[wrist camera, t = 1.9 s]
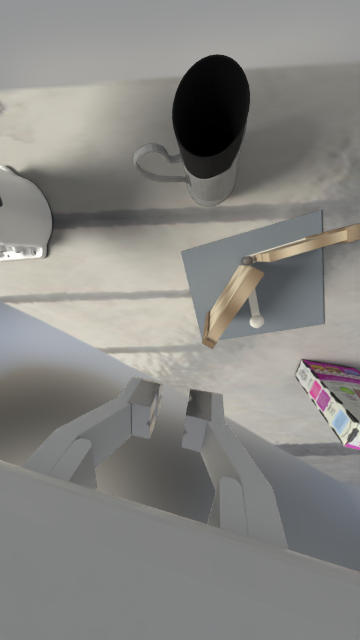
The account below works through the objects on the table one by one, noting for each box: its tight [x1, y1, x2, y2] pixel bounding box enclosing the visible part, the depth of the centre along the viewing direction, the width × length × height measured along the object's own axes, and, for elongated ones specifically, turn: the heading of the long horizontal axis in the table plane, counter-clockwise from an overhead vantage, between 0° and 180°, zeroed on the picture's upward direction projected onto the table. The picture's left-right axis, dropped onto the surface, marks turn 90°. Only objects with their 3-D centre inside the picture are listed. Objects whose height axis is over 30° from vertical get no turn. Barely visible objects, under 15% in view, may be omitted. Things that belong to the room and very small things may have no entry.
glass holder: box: [133, 55, 250, 207], centre depth 24 cm, size 9×14×15 cm, turn 103°
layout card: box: [181, 210, 324, 340], centre depth 35 cm, size 25×21×1 cm
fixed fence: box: [241, 223, 360, 266], centre depth 27 cm, size 13×2×11 cm, turn 107°
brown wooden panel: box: [202, 265, 265, 349], centre depth 30 cm, size 12×2×14 cm, turn 152°
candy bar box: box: [295, 360, 360, 450], centre depth 31 cm, size 11×5×16 cm, turn 85°
